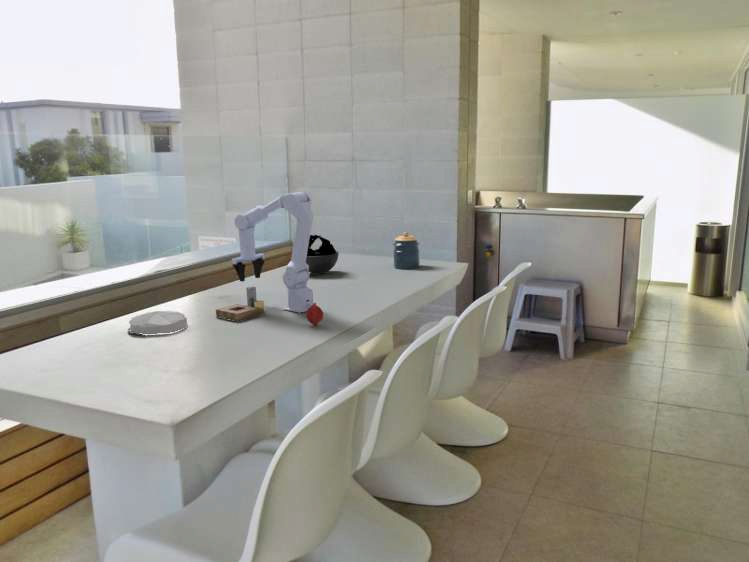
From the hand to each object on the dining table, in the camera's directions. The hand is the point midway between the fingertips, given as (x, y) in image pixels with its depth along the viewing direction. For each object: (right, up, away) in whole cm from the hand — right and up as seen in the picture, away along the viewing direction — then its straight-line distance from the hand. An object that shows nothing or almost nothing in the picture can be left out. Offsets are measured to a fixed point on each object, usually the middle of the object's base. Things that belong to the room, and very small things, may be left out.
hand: (250, 279), depth 258 cm
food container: (-27, -18, -28) cm, 43 cm away
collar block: (-1, -14, -16) cm, 21 cm away
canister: (+65, +6, +71) cm, 96 cm away
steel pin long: (+2, -11, -3) cm, 12 cm away
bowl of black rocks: (+22, +3, +62) cm, 66 cm away
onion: (+28, -16, -32) cm, 45 cm away
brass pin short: (+6, -13, -12) cm, 18 cm away
